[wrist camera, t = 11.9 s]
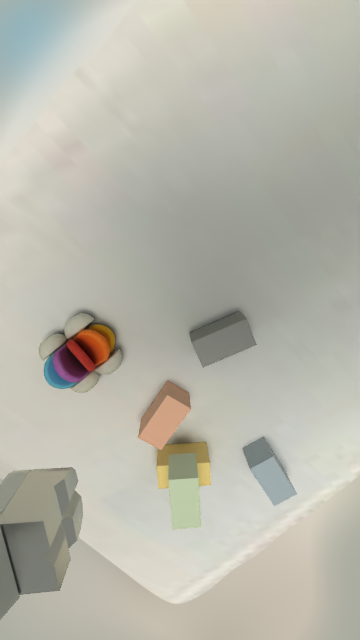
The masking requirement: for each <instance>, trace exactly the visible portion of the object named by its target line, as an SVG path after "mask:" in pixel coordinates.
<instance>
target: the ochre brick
mask: <svg viewBox="0 0 360 640" xmlns="http://www.w3.org/2000/svg"><path fill="white" fill-rule="evenodd" d="M185 453H196V461H197V470H198V479H199V486H205V485H211V478H210V461H209V455H208V449H207V444H206V442H198V443H183V444H169V445H165V446H164V447H163V448H162V450H160V449H158V454H157V476H158V487H159V489H162V488H169V482H168V469H169V455H171V454H185Z"/></svg>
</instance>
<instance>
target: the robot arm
mask: <svg viewBox="0 0 360 640" xmlns="http://www.w3.org/2000/svg"><path fill="white" fill-rule="evenodd" d="M77 483H78V479H77V474H76V470H75V469H73V468H72V467H71V468H52V469H34V470H20V471H13V472H11V473H9V474H8V475H7V476H6V478H5V479H4V480H3V482H2V483H1V485H0V619H1V618H2V617H3V616H4V615H5V614H6V613H7V611H8V610H9V609H10V608H11V607H12V606H13V605H14V603H15V602H16V601H17V600H18V599H19V597H20V596H19V595H22V594H31V593H40V592H50V591H60V588H61V585H62V582H63V579H64V576H65V574H66V571H67V568H68V565H69V562H70V554H69V548H70V547H71V546H72V544H74V543H75V542H76V541H77V538H78V535H79V532H80V529H81V523H82V516H83V506H82V499H81V496H80V495H79V494H78V493H77V492H76V491H75V487H76V485H77Z"/></svg>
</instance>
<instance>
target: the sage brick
mask: <svg viewBox="0 0 360 640" xmlns="http://www.w3.org/2000/svg"><path fill="white" fill-rule="evenodd" d="M168 482H169V493H170V505H171V517H172V528H173V529H183V528H196V527H201V512H200V495H199V479H198V470H197V461H196V453H185V454H171V455H169V469H168Z"/></svg>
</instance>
